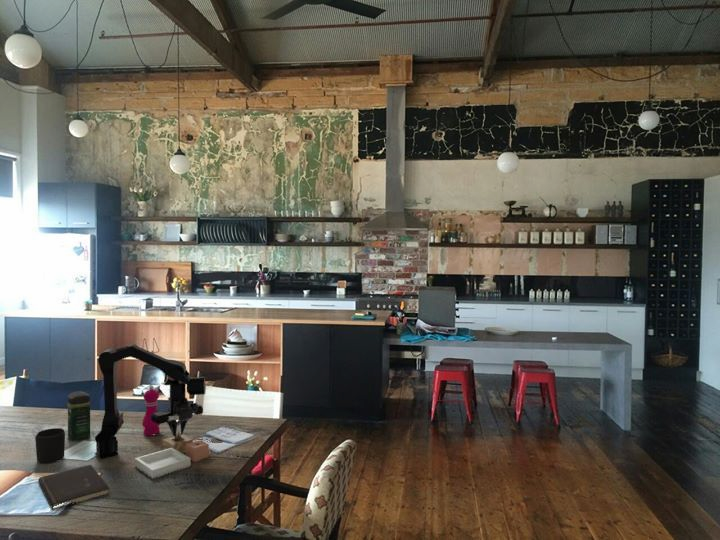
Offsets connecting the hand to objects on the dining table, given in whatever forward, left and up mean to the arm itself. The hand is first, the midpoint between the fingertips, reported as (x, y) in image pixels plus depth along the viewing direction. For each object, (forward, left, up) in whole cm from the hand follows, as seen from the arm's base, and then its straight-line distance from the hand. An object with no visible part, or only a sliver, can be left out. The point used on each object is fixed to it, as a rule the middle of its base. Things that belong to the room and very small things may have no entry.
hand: (177, 435), depth 200 cm
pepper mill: (+1, +25, -6) cm, 26 cm away
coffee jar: (-22, +41, -6) cm, 47 cm away
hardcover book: (-39, -5, -7) cm, 40 cm away
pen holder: (-37, +25, -6) cm, 45 cm away
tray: (-11, -10, -6) cm, 16 cm away
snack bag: (+17, -3, -7) cm, 19 cm away
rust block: (+2, -11, -6) cm, 13 cm away
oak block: (0, 0, -6) cm, 6 cm away
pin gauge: (0, 0, -2) cm, 2 cm away
